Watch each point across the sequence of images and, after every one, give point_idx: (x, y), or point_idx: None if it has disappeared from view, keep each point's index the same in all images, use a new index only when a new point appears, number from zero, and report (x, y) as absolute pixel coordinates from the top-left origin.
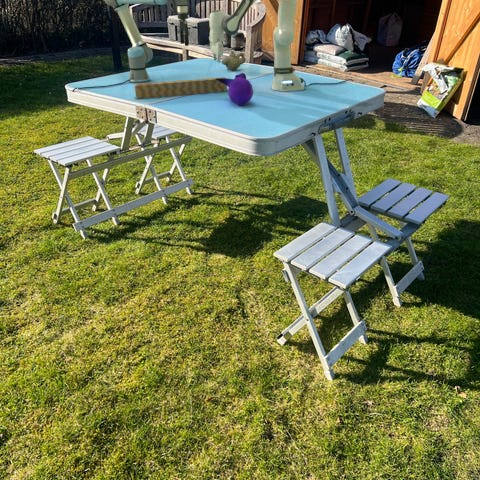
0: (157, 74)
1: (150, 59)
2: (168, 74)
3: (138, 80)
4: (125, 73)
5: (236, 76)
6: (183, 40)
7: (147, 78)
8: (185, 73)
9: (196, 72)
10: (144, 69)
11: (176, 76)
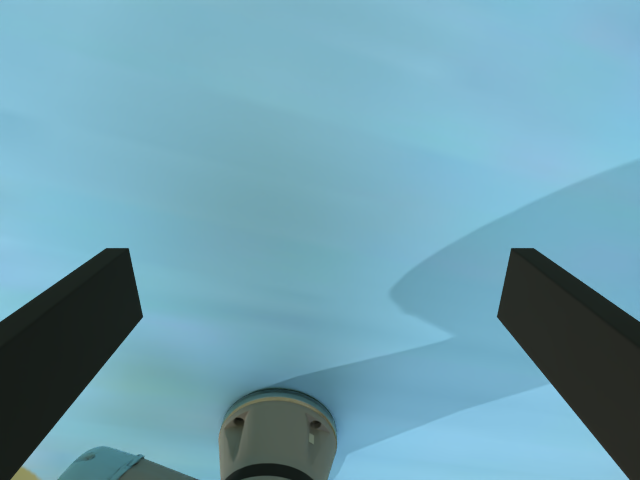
0: None
1: (137, 462)
2: None
3: (335, 453)
4: None
5: None
6: (94, 293)
7: (317, 415)
8: (95, 120)
9: (65, 3)
10: (305, 472)
11: (208, 218)
